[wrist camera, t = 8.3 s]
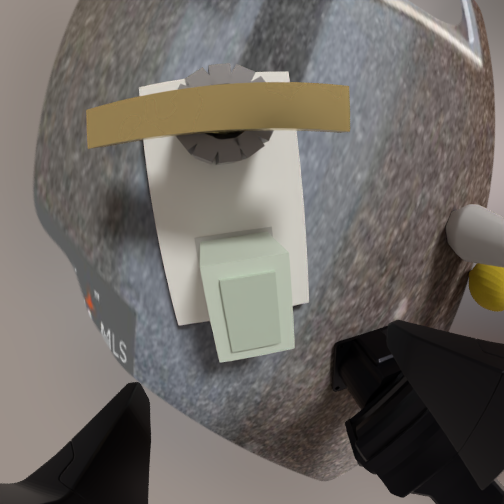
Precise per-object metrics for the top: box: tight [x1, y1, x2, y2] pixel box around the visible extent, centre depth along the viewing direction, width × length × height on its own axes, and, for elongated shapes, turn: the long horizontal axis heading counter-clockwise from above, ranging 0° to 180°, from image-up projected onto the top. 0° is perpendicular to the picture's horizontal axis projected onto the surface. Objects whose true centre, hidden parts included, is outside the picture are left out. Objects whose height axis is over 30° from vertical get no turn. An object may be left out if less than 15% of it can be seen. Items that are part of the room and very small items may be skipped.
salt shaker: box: [446, 204, 504, 268], centre depth 17 cm, size 6×6×13 cm
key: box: [86, 82, 350, 149], centre depth 13 cm, size 12×2×6 cm, turn 91°
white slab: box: [139, 63, 309, 325], centre depth 17 cm, size 17×10×5 cm, turn 7°
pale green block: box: [200, 232, 295, 363], centre depth 17 cm, size 6×4×5 cm
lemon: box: [469, 263, 504, 311], centre depth 22 cm, size 6×6×8 cm
